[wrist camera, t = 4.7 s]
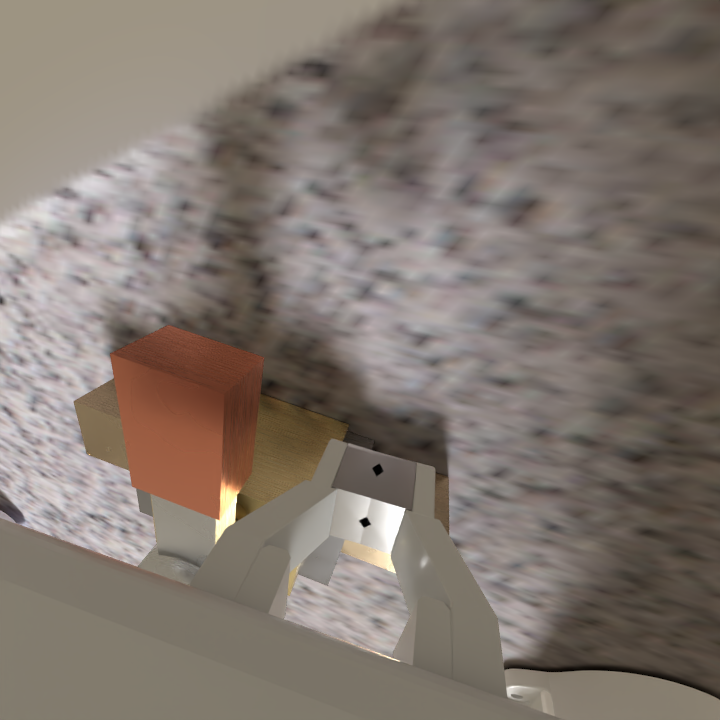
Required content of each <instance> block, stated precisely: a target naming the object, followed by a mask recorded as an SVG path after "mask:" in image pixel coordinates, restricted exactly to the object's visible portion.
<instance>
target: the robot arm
mask: <svg viewBox="0 0 720 720" xmlns="http://www.w3.org/2000/svg"><path fill="white" fill-rule="evenodd" d="M434 509H435V468H434V467H432V466H429V465H425V464H421V463H416V462H413V461H410V460H406V459H402V458H398V457H395V456H391V455H387V454H384V453H380V452H376V451H373V450H370V449H366V448H363V447H360V446H357V445H353V444H350V443H349V444H348V443H345V442H342V441H339V440H336V439H333V438H332V439H331V440H330V441H329V442H328V445H327V447H326V449H325V451H324V453H323V456H322V458H321V460H320V462H319V464H318V467H317V469H316V471H315V473H314V475H313V477H312V480H311V481H308V480H305V481H303V482H301V483H300V484H298V485H296V486H295V487H293V488H291V489H290V490H288V491H286V492H285V493H283V494H281V495H280V496H278V497H276V498H275V499H273V500H271V501H270V502H268V503H266V504H265V505H263V506H261V507H260V508H258V509H256V510H255V511H253V512H252V513H250V514H248V515H247V516H245V517H243V518H242V519H240V520H238V521H237V522H235V523H233V524H232V525H230V526H228V527H227V528H226V529H225V530H224V532H223V533H222V535H221V536H220V538H219V539H218V541H217V542H216V544H215V546H214V547H213V549H212V550H211V552H210V553H209V555H208V556H207V558H206V559H205V561H204V562H203V564H202V566H201V567H200V569H199V570H198V572H197V573H196V575H195V576H194V578H193V579H192V581H191V582H190V584H189V585H187V584H184V583H181V582H178V581H176V580H173V579H170V578H167V577H164V576H162V575H159V574H156V573H153V572H150V571H148V570H145V569H142V568H139V567H136V566H134V565H131V564H128V563H125V562H122V561H120V560H117V559H114V558H111V557H108V556H106V555H103V554H100V553H97V552H94V551H92V550H89V549H86V548H83V547H80V546H78V545H75V544H72V543H69V542H66V541H64V540H61V539H58V538H55V537H52V536H50V535H47V534H44V533H41V532H38V531H36V530H33V529H30V528H27V527H24V526H22V525H19V524H16V523H13V522H11V521H8V520H5V519H2V518H0V720H720V700H719V699H717V698H715V697H713V696H711V695H709V694H707V693H704V692H702V691H699V690H697V689H694V688H691V687H688V686H685V685H682V684H679V683H675V682H672V681H668V680H664V679H659V678H655V677H650V676H645V675H639V674H632V673H625V672H615V671H569V672H542V671H535V670H526V669H507V670H504V665H503V657H502V649H501V641H500V633H499V625H498V618H497V616H496V614H495V613H494V611H493V609H492V608H491V606H490V604H489V603H488V601H487V599H486V597H485V596H484V594H483V592H482V591H481V589H480V587H479V586H478V584H477V582H476V581H475V579H474V577H473V575H472V574H471V572H470V570H469V569H468V567H467V565H466V564H465V562H464V560H463V558H462V557H461V555H460V553H459V552H458V550H457V548H456V547H455V545H454V543H453V541H452V540H451V538H450V536H449V535H448V533H447V531H446V530H445V528H444V526H443V524H442V523H441V521H440V520H438V519H435V518H434ZM329 535H331V536H334V537H338V538H341V539H345V540H348V541H352V542H355V543H359V544H362V545H365V546H368V547H370V548H373V549H376V550H379V551H382V552H385V553H388V554H390V557H391V560H392V563H393V566H394V569H395V572H396V575H397V578H398V581H399V584H400V587H401V590H402V593H403V596H404V599H405V602H406V605H407V608H408V611H409V614H410V618H409V620H408V622H407V624H406V626H405V628H404V630H403V632H402V635H401V637H400V639H399V641H398V643H397V645H396V647H395V649H394V651H393V658H391V657H388V656H385V655H382V654H379V653H377V652H374V651H371V650H368V649H365V648H363V647H360V646H357V645H354V644H352V643H349V642H346V641H343V640H340V639H338V638H335V637H332V636H329V635H326V634H324V633H321V632H318V631H315V630H312V629H310V628H307V627H304V626H301V625H298V624H296V623H293V622H290V621H287V620H285V619H284V618H285V615H286V606H287V595H288V583H289V573H290V572H291V571H292V570H293V569H294V568H295V567H297V566H298V565H299V564H300V563H301V562H302V561H303V560H304V559H305V558H306V557H307V556H308V555H310V554H311V553H312V552H313V551H314V550H315V549H316V548H317V547H318V546H319V545H320V544H322V543H323V542H324V541H325V540H326V539H327V538H328V537H329Z"/></svg>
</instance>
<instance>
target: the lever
mask: <svg viewBox="0 0 720 720" xmlns="http://www.w3.org/2000/svg"><path fill="white" fill-rule="evenodd" d="M110 357H111V363H112V369H113V374H114V380H115V386H116V392H117V398H118V404H119V410H120V416H121V422H122V428H123V434H124V440H125V446H126V452H127V458H128V464H129V470H130V476H131V482H132V487H134V488H137V489H140V490H142V491H145V492H147V493H150V494H151V499H152V507H153V515H154V523H155V531H156V539H157V544H156V545H155V546H154V547H153V548H152V550H151V551H150V552H149V553H148V555H147V556H146V557H145V558H144V560H143V561H142V562H141V563H140V564H139V566H138V567H139V568H142V569H145V570H148V571H150V572H153V573H156V574H159V575H162V576H164V577H167V578H170V579H173V580H176V581H178V582H181V583H184V584H187V585H189V584H190V582H191V581H192V579H193V578H194V576H195V575H196V573H197V572H198V570H199V569H200V567H201V566H202V564H203V562H204V561H205V559H206V558H207V556H208V555H209V553H210V552H211V550H212V549H213V547H214V546H215V544H216V542H217V541H218V539H219V538H220V536H221V535H222V533H223V532H224V530H225V529H226V528H227V527H228V526H230V525H232V524H233V523H235V514H236V501H237V494H238V493H239V491H240V490H241V488H242V487H243V485H244V484H245V482H246V481H247V479H248V478H249V476H250V475H251V474H252V465H253V456H254V446H255V437H256V428H257V419H258V410H259V400H260V391H261V382H262V373H263V364H264V357H261V356H258V355H256V354H253V353H250V352H247V351H244V350H241V349H238V348H235V347H232V346H229V345H226V344H223V343H220V342H217V341H214V340H212V339H209V338H206V337H203V336H200V335H197V334H194V333H191V332H188V331H185V330H182V329H179V328H176V327H173V326H170V325H168V326H166V327H163V328H161V329H159V330H157V331H155V332H153V333H151V334H149V335H147V336H145V337H143V338H141V339H139V340H137V341H135V342H133V343H131V344H129V345H127V346H125V347H123V348H121V349H119V350H117V351H114V352H112V353H110Z"/></svg>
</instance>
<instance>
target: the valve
mask: <svg viewBox="0 0 720 720" xmlns="http://www.w3.org/2000/svg"><path fill="white" fill-rule="evenodd" d="M74 405H75V409H76V413H77V417H78V421H79V425H80V429H81V433H82V437H83V441H84V445H85V449H86V453H87V454H88V455H90V456H93V457H96V458H98V459H101V460H103V461H106V462H109V463H111V464H114V465H116V466H119V467H122V468H124V469H127V470H129V464H128V458H127V452H126V446H125V440H124V434H123V428H122V422H121V416H120V410H119V404H118V398H117V392H116V386H115V380H114V379H112V380H110V381H108V382H107V383H105V384H103V385H101V386H100V387H98V388H96V389H94V390H93V391H91V392H89V393H87V394H86V395H84V396H82V397H80V398H79V399H77V400H75V401H74ZM348 426H349V424H346V423H343V422H340V421H337V420H334V419H332V418H329V417H326V416H323V415H320V414H317V413H315V412H312V411H309V410H306V409H303V408H300V407H297V406H295V405H292V404H289V403H286V402H283V401H280V400H277V399H275V398H272V397H269V396H266V395H263V394H260V400H259V410H258V419H257V428H256V437H255V446H254V456H253V465H252V474H251V475H250V476H249V478H248V479H247V481H246V482H245V484H244V485H243V487H242V488H241V490H240V491H239V493H238V494H237V501H236V514H235V522H237V521H238V520H240V519H242V518H243V517H245V516H247V515H248V514H250V513H252V512H253V511H255V510H256V509H258V508H260V507H261V506H263V505H265V504H266V503H268V502H270V501H271V500H273V499H275V498H276V497H278V496H280V495H281V494H283V493H285V492H286V491H288V490H290V489H291V488H293V487H295V486H296V485H298V484H300V483H301V482H303V481H305V480H308V481H311V480H312V477H313V475H314V473H315V471H316V469H317V467H318V464H319V462H320V460H321V458H322V456H323V453H324V451H325V449H326V447H327V445H328V442H329V441H330V440H331V439H332V438H333V439H336V440H339V441H342V442H345V443H348V444H349V443H350V444H353V445H357V446H360V447H363V448H366V449H370V450H372V447H373V444H374V441H373V440H370V439H368V438H365V437H362V436H359V435H356V434H353V433H351V432H348V431H347V430H348ZM129 471H130V470H129ZM136 490H137V496H138V503H139V509H140V512H142V513H145V514H147V515H150V516H152V517H153V519H154V515H153V507H152V499H151V494H150V493H147V492H145V491H142V490H140V489H137V488H136ZM434 518H435V519H438V520H440V521H441V523H442V524H443V526H444V528H445V530H446V531H447V533H448V535H449V480H448V477H446V476H444V475H441V474H438V473H435V509H434ZM154 527H155V523H154ZM155 535H156V531H155ZM156 542H157V539H156ZM340 552H342V553H345V554H347V555H350V556H353V557H355V558H358V559H360V560H363V561H366V562H368V563H371V564H373V565H376V566H379V567H381V568H384V569H386V570H389V571H392V572H394V573H396V572H395V569H394V566H393V563H392V560H391V557H390V554H388V553H385V552H382V551H379V550H376V549H373V548H370V547H368V546H365V545H362V544H359V543H355V542H352V541H348V540H345V539H341V538H338V537H334V536H331V535H329V537H328V538H327V539H326V540H325V541H324V542H323V543H322V544H320V545H319V546H318V547H317V548H316V549H315V550H314V551H313V552H312V553H311V554H310V555H308V556H307V557H306V558H305V559H304V560H303V561H302V562H301V563H300V564H299V565H298V566H297V567H295V568H294V569H293V570H292V571H291V572H290V573H289V583H288V595H289V596H290V594H291V591H292V588H293V586H294V583H295V581H296V578H297V575H298V574H299V575H302V576H304V577H307V578H309V579H312V580H314V581H317V582H319V583H322V584H324V585H327V586H328V584H329V581H330V578H331V576H332V573H333V570H334V568H335V565H336V562H337V560H338V557H339V554H340Z"/></svg>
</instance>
